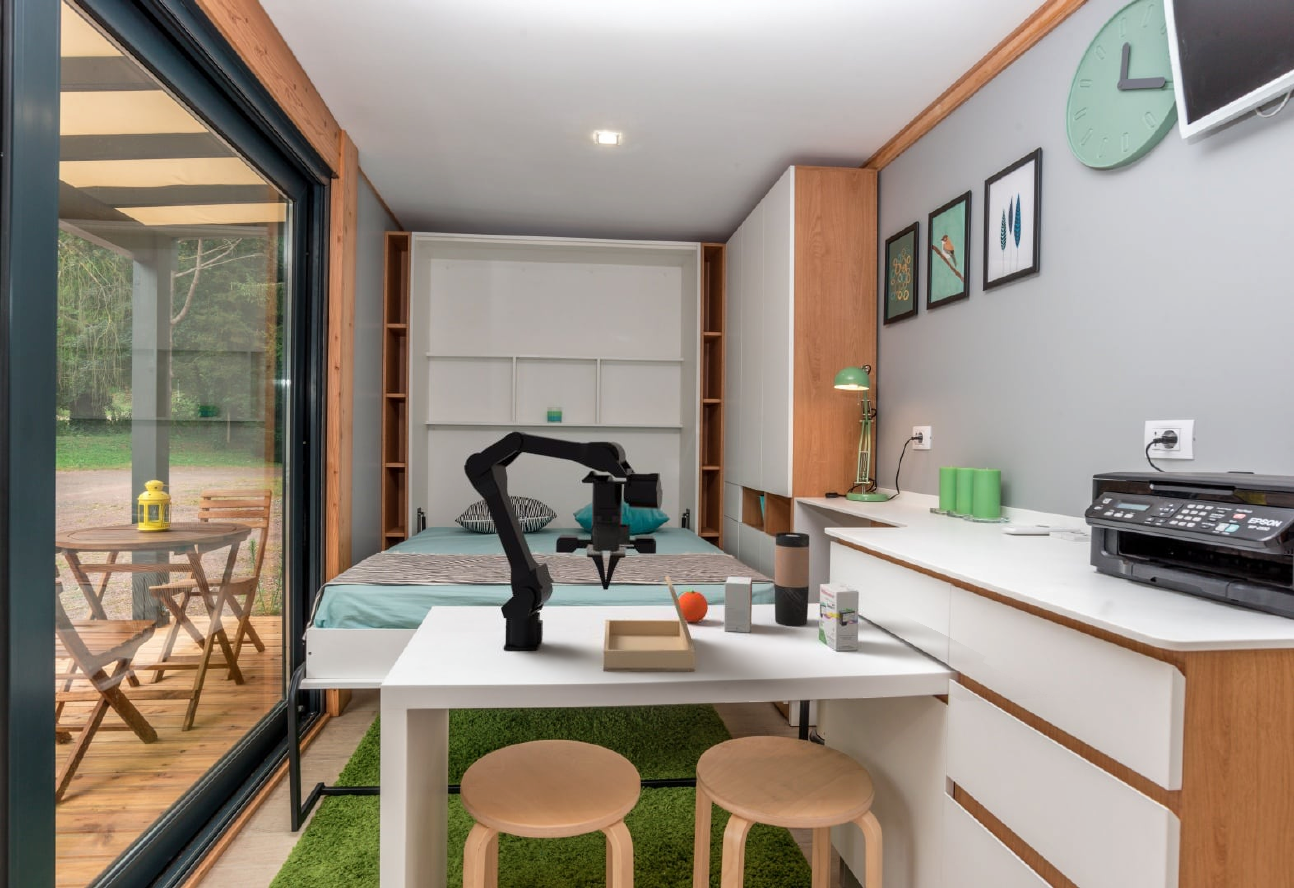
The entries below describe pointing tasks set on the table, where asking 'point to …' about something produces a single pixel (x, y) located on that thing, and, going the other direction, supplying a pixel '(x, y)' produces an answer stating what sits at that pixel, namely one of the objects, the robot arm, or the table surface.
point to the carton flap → (679, 610)
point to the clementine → (693, 606)
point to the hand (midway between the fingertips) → (605, 589)
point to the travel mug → (791, 578)
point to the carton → (647, 646)
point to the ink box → (839, 616)
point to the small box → (738, 604)
